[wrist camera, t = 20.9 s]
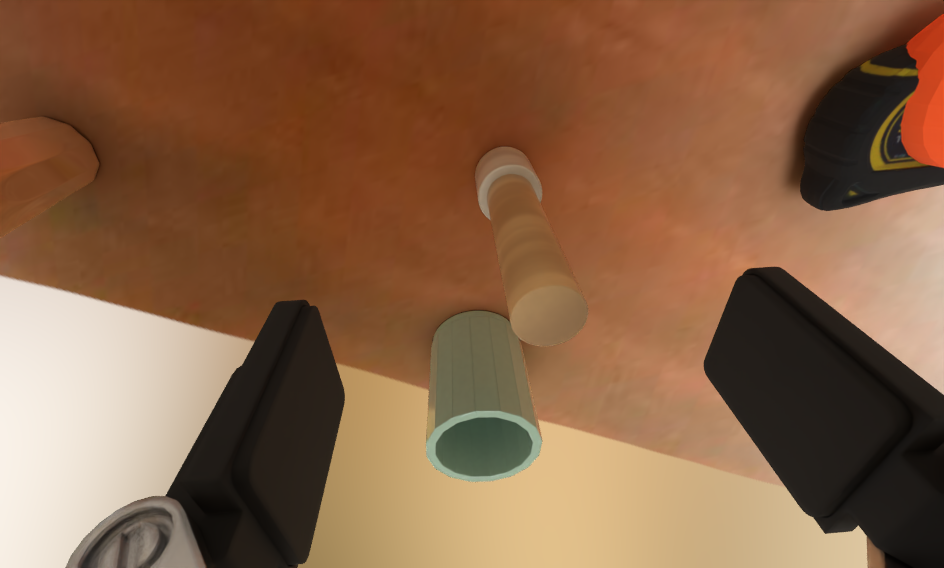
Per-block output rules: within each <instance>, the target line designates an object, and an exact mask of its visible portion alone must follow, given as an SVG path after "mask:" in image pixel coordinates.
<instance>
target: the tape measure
mask: <svg viewBox="0 0 944 568" xmlns="http://www.w3.org/2000/svg"><path fill="white" fill-rule="evenodd" d="M907 45H908V44H905V45H902V46H899V47H897V48H894V49H892V50H889V51H886V52H884V53H882V54H880V55H878V56H876V57H874V58H872V59H870V60H868V61H867V62H865V63H863V64H862V65H860V66H859V67H857V68H854V69H852V70H851V71H850V72H849V73H847V74H846V75H845V76H844V78H843V79H842V80H841V81H840V82H839V83H837V84H836V85H835V86H834V87H833V88H832V89H831V90H830V91H829V92H828V93H827V95H826V96H825V97H824V98H823V100H822V101H821V102H820V104H819V105H818V107H817V108H816V112H815V114H814V116H813V117H812V118H811V120H810V122H809V124H808V127H807V130H806V133H805V137H804V142H805V146H804V148H803V149H804V157H805V167H804V171H803V174H802V178H801V183H800V192H801V195H802V198H803V199H804V200H805V201H806V202H807V203H809V204H810V205H812V206H814V207H815V208H817V209H820V210H825V211H831V210H838V209H844V208H849V207H853V206H857V205H861V204H864V203H867V202H871V201H874V200H877V199H881V198H884V197H888V196H891V195H896V194H900V193H905V192H909V191H913V190H918V189H924V188H929V187H935V186H939V185H944V168H941V167H936V166H931V165H926V164H921V163H919V162H918V161H916V160H915V159H913V158H912V157H911V156H909V155H908V153H907V151H906V149H905V147H904V145H903V143H902V141H901V122H902V118H903V114H904V110H905V107H906V103H907V101H908V100H909V99H910V97H911V96H912V95H913V93H914V92H915V90H916V88H917V86H918V83H919V78H918V69H917V68H916V63H917V61H916V60H915V59H914V58H912V57H910V55H909V53H908V50H907V48H906V47H907Z"/></svg>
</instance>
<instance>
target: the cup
mask: <svg viewBox="0 0 944 568" xmlns="http://www.w3.org/2000/svg"><path fill="white" fill-rule="evenodd" d="M541 444H542V437H541V432H540V428H539V423H538V418H537V414H536V409H535V404H534V400H533V395H532V390H531V386H530V381H529V376H528V372H527V367H526V362H525V358H524V353H523V348H522V344H521V342H520V338H519V337H518V336H517V335H516V334H515V333H514V331H513V329H512V327H511V323H510V321H509V320H507V319H506V318H504V317H502V316H501V315H498V314H496V313H492V312H488V311H467V312H463V313H460V314H457V315H455V316H453V317H451V318H449V319H447V320H446V321H445V322H444V323H442V324H441V325H440V327H439V328H438V329H437V331H436V332H435V334H434V336H433V340H432V346H431V362H430V380H429V399H428V417H427V435H426V455H427V458H428V459H429V461H430V462H431V463H432V465H433V466H434V467H435V468H436V469H437V470H439V471H440V472H442V473H444V474H446V475H447V476H449V477H452V478H456V479H461V480H465V481H471V482H480V481H481V482H483V481H494V480H499V479H503V478H507V477H511V476H513V475H515V474H517V473H519V472H520V471H522V470H524V469H526V468H528V467H529V466H530V465H531V464H532V463H533V461H534V460H535V459H536V458H537V457H538V456H539V453H540V449H541Z"/></svg>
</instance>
